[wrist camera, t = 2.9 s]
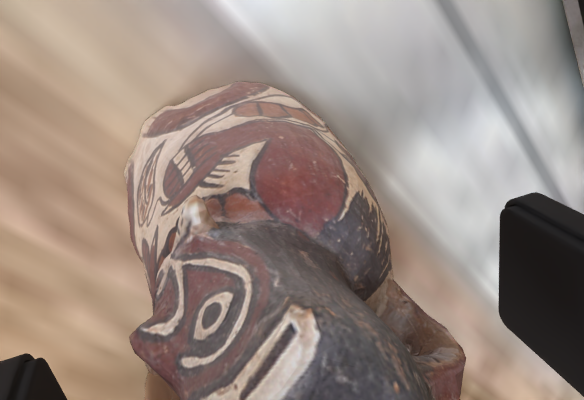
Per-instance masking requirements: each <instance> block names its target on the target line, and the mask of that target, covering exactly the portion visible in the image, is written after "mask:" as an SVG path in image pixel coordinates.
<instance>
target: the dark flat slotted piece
mask: <svg viewBox="0 0 584 400" xmlns="http://www.w3.org/2000/svg"><path fill="white" fill-rule="evenodd" d="M562 2H563V6H564V10H565V14H566V18H567V22H568V26H569V30H570V34H571V38H572V42H573V46H574V50H575V55H576V59H577V63H578V67H579V71H580V75H581V79H582V83H583V87H584V0H562Z"/></svg>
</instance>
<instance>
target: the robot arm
mask: <svg viewBox="0 0 584 400" xmlns="http://www.w3.org/2000/svg"><path fill="white" fill-rule="evenodd" d="M499 314H500V317H501V319H502V321H503V323H504V324H505V325H506V327H507V328H508V329H510V330H511V331H512V332H513V333H514V334H515V335H516V336H517V337H518V338H519V339H521V340H522V341H523V342H524V343H525V344H526V345H527V346H528V347H529V348H530V349H532V350H533V351H534V352H535V353H536V354H537V355H538V356H539V357H540V358H542V359H543V360H544V361H545V362H546V363H547V364H548V365H549V366H550V367H551V368H553V369H554V370H555V371H556V372H557V373H558V374H559V375H560V376H561V377H563V378H564V379H565V380H566V381H567V382H568V383H569V384H570V385H571V386H572V387H574V388H575V389H576V390H577V391H578V392H579V393H580V394H581V395H582V396H583V397H584V214H582V213H580V212H577V211H575V210H573V209H571V208H569V207H567V206H565V205H563V204H561V203H559V202H557V201H555V200H553V199H551V198H549V197H547V196H545V195H543V194H540V193H537V192H535V193H530V194H527V195H524V196H520V197H517V198H514V199H511V200H509V201H508V202H507V203H506V205H505V209H503V210H502V212H501V214H500V250H499ZM0 400H67V398H66V396H65V395H64V393H63V391H62V389H61V387H60V385H59V384H58V382H57V380H56V378H55V376H54V374H53V373H52V371H51V369H50V367H49V365H48V363H47V362H46V361H45V359H43V358H37V359H34V358H33V356H31V355H30V354H23V355H19V356H16V357H13V358H10V359H7V360H4V361H0Z"/></svg>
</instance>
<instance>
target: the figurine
mask: <svg viewBox="0 0 584 400" xmlns="http://www.w3.org/2000/svg"><path fill="white" fill-rule="evenodd" d="M124 176H125V179H126V182H127V191H128V215H129V222H130V235H131V240H132V242H133V245H134V247H135V250H136V253H137V255H138V256H139V258H140V259H141V261H142V262H143V264H144V267H145V274H146V278H147V282H148V286H149V290H150V293H151V297H152V303H153V316H152V317H151V318H150V319H149V320H147V321H146V322H144V323H143V324H141V325H140V326H139V327H138V328H137V329H136V330H135V331H134V332H133V333H132V334H131V335H130V336H129V338H130V343H131V345H132V348H133V350H134V352H135V354H137V355H138V356H139V357H140V358H141V359H142V360H143V361H144V362H146V367H147V369H148V370H149V372H150V373H151V374H152V375H156V376H160V377H161V378H162V379H163V380H164V381H165V382H166V383H167V384H168V385H169V386H170V388H171V389H172V390H173V391H174V392H175V393H176V394H177V395H178V396H179V397H180V400H460V399H459V397H460V394H461V386H462V378H463V371H464V366H465V361H466V357H465V354H464V352H463V349H462V347H461V346H460V345H459V344H458V343H457V342H456V341H455V339H454V338H453V337H452V335H451V334H450V333H449V331H448V330H447V329H446V328H445V327H444V326H443V325H441V324H440V323H438V322H437V321H435V320H434V319H433V318H431V317H430V316H428V315H427V314H426V313H425V312H424V311H423V310H422V309H421V308H420V307H419V306H418V305H417V304H416V303H415V302H414V301H413V300H412V299H411V298H410V297H409V296H408V295H407V294H406V293H405V292H404V291H403V290H402V289H401V288H400V286H399V285H398V284H397V283H396V282H395V281H394V280H393V273H392V263H391V252H390V241H389V231H388V227H387V224H386V220H385V218H384V216H383V213H382V211H381V209H380V207H379V204H378V202H377V200H376V197H375V195H374V193H373V191H372V189H371V187H370V185H369V183H368V182H367V180H366V178H365V177H364V175H363V173H362V172H361V170H360V169H359V167H358V165H357V164H356V162H355V160H354V159H353V157H352V156H351V155H350V154H349V152H348V151H347V150H346V149H345V147H344V146H343V144H342V143H341V142H340V141H339V139H338V138H337V137H336V136H335V135H334V134H333V132H332V131H331V130H330V129H329V128H328V126H327V125H326V124H325V123H324V122H323V120H322V119H321V118H320V117H319V116H317V115H316V114H315V113H313V112H312V111H311V110H309V109H308V108H307V107H306V106H304V105H303V104H302V103H300V102H299V101H298V100H297V99H295V98H294V97H292V96H290V95H288V94H286V93H284V92H282V91H280V90H278V89H275V88H273V87H270V86H268V85H265V84H261V83H258V82H257V83H248V82H238V81H237V82H234V83H232V84H229V85H226V86H223V87H220V88H216V89H209V90H207V91H205V92H203V93H201V94H199V95H197V96H195V97H192V98H190V99H188V100H186V101H185V102H184V103H181V104H179V105H176V106H165V107H164V108H162V109H161V110H159V111H158V112H156V113H155V114H154V115H152V116H151V117H149V118H148V119H147V120H145V122H144V124H143V126H142V128H141V132H140V137H139V140H138V142H137V144H136V147H135V149H134V151H133V153H132V154H131V156H130V157H129V159H128V162H127V165H126V168H125V171H124Z"/></svg>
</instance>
